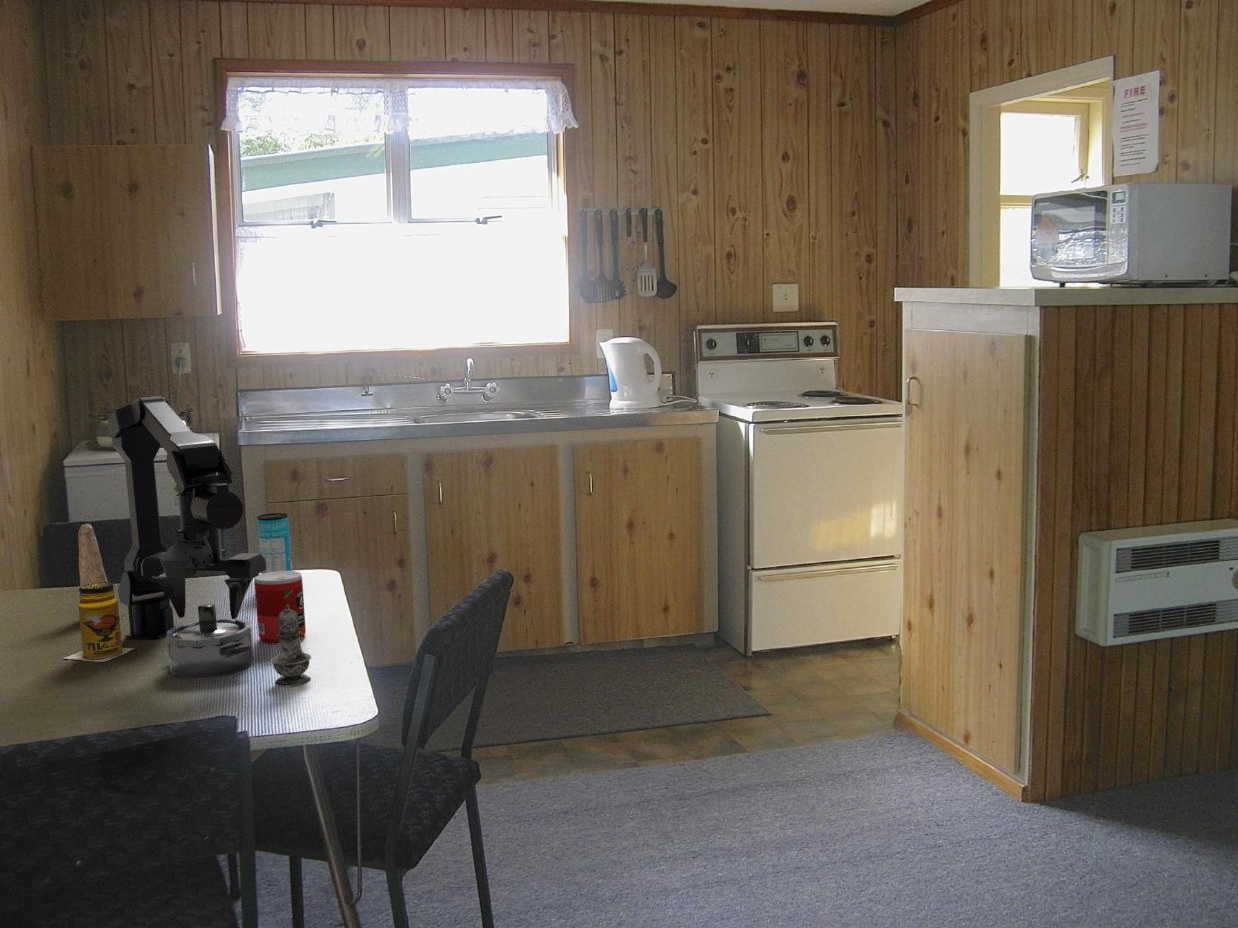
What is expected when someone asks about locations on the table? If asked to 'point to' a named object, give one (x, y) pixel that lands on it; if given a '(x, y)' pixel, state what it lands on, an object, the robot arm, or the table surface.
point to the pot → (210, 651)
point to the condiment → (99, 623)
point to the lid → (208, 625)
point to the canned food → (278, 602)
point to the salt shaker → (290, 652)
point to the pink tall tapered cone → (89, 557)
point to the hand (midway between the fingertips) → (207, 617)
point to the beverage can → (274, 541)
